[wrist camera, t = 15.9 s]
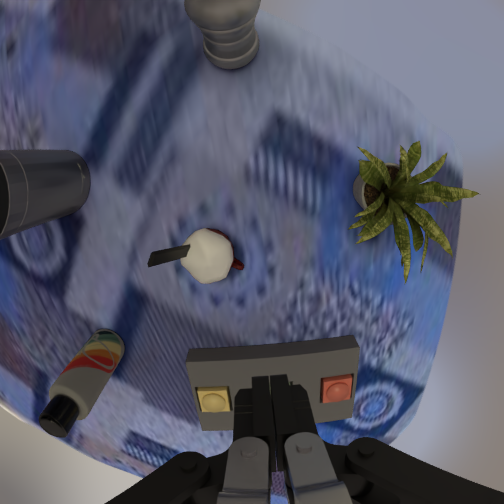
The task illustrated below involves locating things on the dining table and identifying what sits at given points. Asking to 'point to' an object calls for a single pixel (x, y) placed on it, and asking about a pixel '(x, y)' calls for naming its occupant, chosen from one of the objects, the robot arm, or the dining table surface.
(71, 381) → the lotion bottle
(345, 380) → the red button
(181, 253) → the cocoa
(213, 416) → the panel
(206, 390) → the ochre button
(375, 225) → the house plant
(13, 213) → the robot arm
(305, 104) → the dining table surface
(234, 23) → the plastic bottle
